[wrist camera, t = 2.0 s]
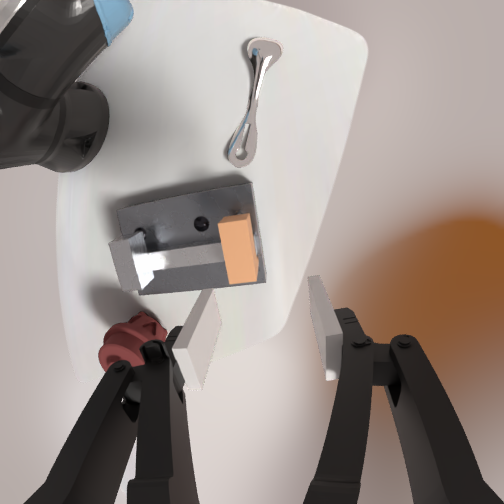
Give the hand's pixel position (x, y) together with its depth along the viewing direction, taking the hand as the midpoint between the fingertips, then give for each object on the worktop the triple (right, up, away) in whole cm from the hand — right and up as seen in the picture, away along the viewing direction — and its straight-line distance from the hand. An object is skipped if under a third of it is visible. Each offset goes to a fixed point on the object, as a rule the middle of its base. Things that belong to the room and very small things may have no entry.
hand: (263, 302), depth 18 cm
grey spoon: (0, +24, +15) cm, 28 cm away
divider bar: (-9, +4, +18) cm, 21 cm away
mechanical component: (-18, -10, +26) cm, 34 cm away
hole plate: (-9, +5, +21) cm, 23 cm away
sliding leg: (-2, +5, +17) cm, 18 cm away
